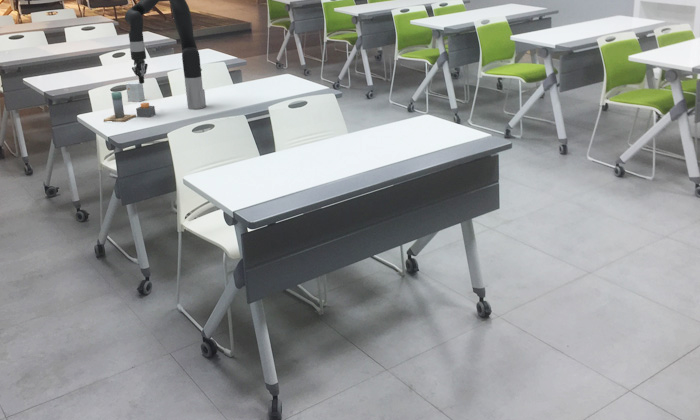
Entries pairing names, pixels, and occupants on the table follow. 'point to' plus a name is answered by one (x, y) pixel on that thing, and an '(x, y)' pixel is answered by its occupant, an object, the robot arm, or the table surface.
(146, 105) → the button
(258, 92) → the table surface
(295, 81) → the table surface
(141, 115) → the button housing
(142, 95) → the small box
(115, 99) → the marker
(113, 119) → the kraft pad
